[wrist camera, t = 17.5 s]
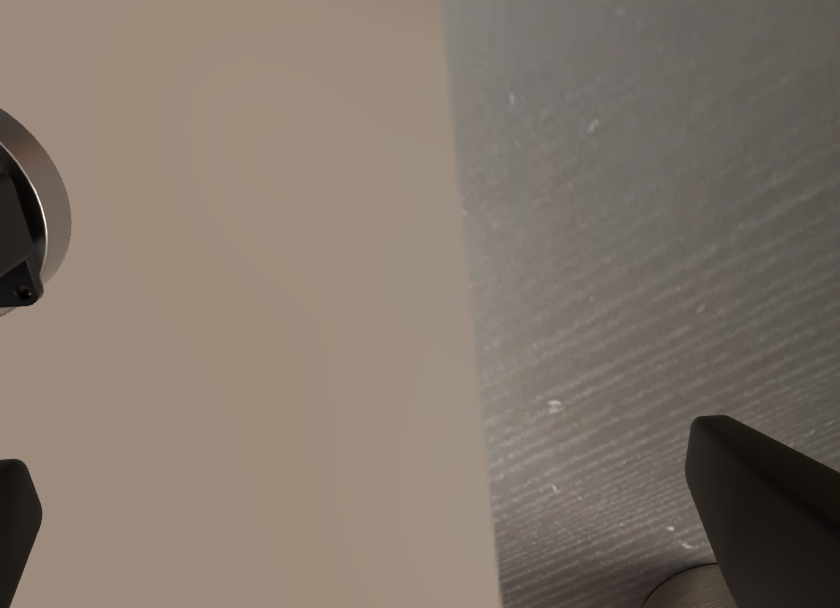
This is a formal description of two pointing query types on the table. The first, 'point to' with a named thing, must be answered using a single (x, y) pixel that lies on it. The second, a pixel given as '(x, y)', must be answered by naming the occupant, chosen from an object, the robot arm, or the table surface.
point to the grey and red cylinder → (693, 590)
